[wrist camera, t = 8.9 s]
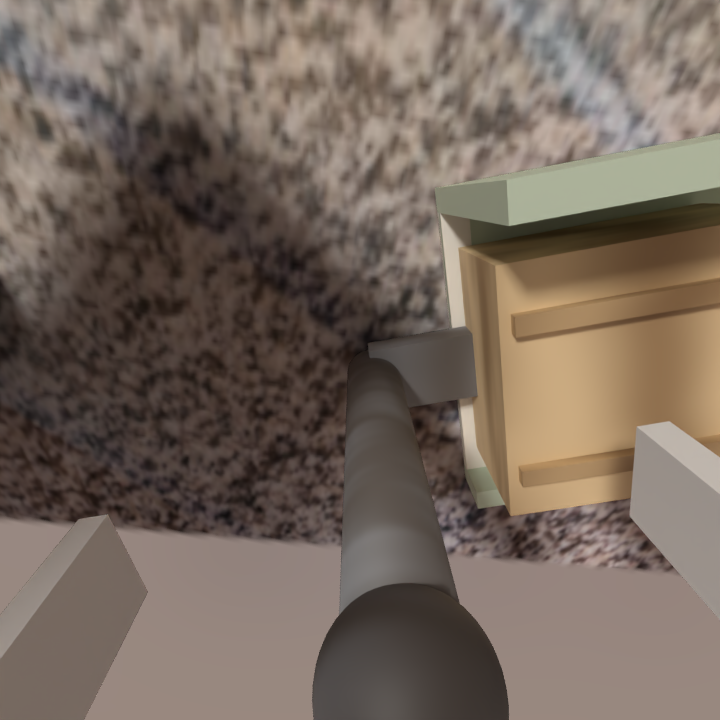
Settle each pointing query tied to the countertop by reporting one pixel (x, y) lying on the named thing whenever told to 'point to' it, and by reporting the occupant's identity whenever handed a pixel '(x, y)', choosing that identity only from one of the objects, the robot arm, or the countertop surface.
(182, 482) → the countertop surface
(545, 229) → the bay
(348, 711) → the tan boxy piece
